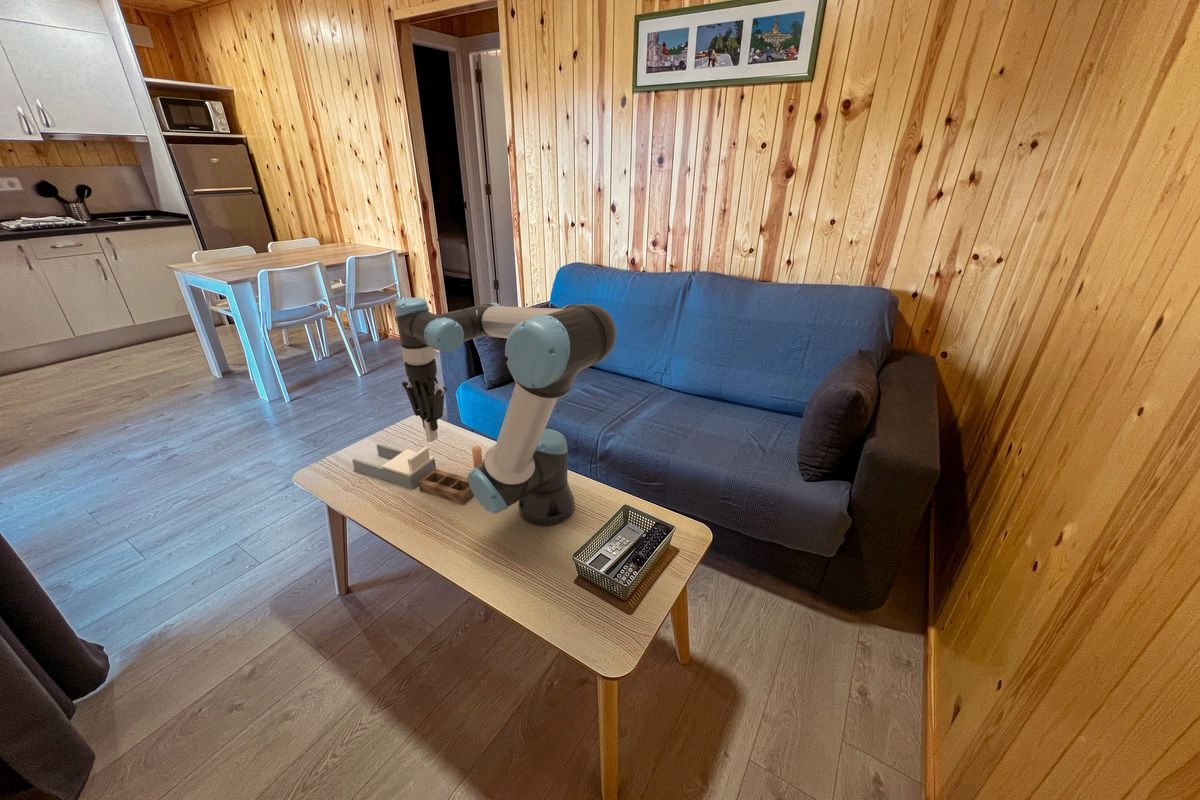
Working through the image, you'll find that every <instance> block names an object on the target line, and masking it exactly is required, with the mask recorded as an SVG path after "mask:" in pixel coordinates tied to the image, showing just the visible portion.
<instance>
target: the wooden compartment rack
mask: <svg viewBox="0 0 1200 800" xmlns="http://www.w3.org/2000/svg"><path fill="white" fill-rule="evenodd" d="M417 487H418V490H419V491H420V492H423V493H426V494H429V495H432V496H435V497H437V498H441V499H444V500H448V501H450V502H453V503H457V504H460V505H465V504H466V503H467V502H468V501H469V500H470V499H472V497H473V496H474V495H473V493H472V490H471V488H470V486H469V482H468V477H464V476H462V475H458V474H454V473H450V472H448V471H444V470H441V469H437V468H436V469H434V470H433V471H431V472H430V473H429V474H427V475H426V476H425V477H423V478H422V479H421V480H419V481H418V486H417Z"/></svg>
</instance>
